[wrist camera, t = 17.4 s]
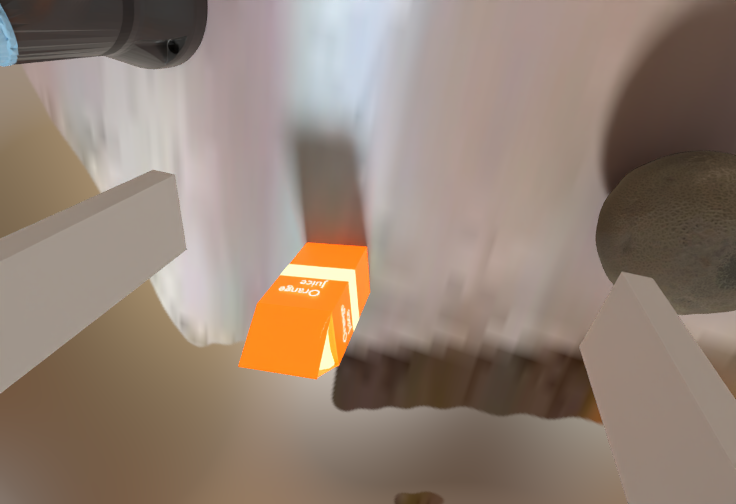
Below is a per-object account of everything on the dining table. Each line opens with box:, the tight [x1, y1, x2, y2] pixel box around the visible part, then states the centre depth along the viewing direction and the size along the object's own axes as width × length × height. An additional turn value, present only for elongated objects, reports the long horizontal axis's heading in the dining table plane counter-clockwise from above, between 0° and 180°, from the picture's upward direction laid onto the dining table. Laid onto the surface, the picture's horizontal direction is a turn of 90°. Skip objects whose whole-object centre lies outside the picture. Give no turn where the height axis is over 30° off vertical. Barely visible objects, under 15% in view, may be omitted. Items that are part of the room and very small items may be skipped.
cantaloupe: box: [596, 151, 736, 315], centre depth 34 cm, size 14×14×15 cm
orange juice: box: [239, 242, 370, 379], centre depth 47 cm, size 8×9×20 cm
